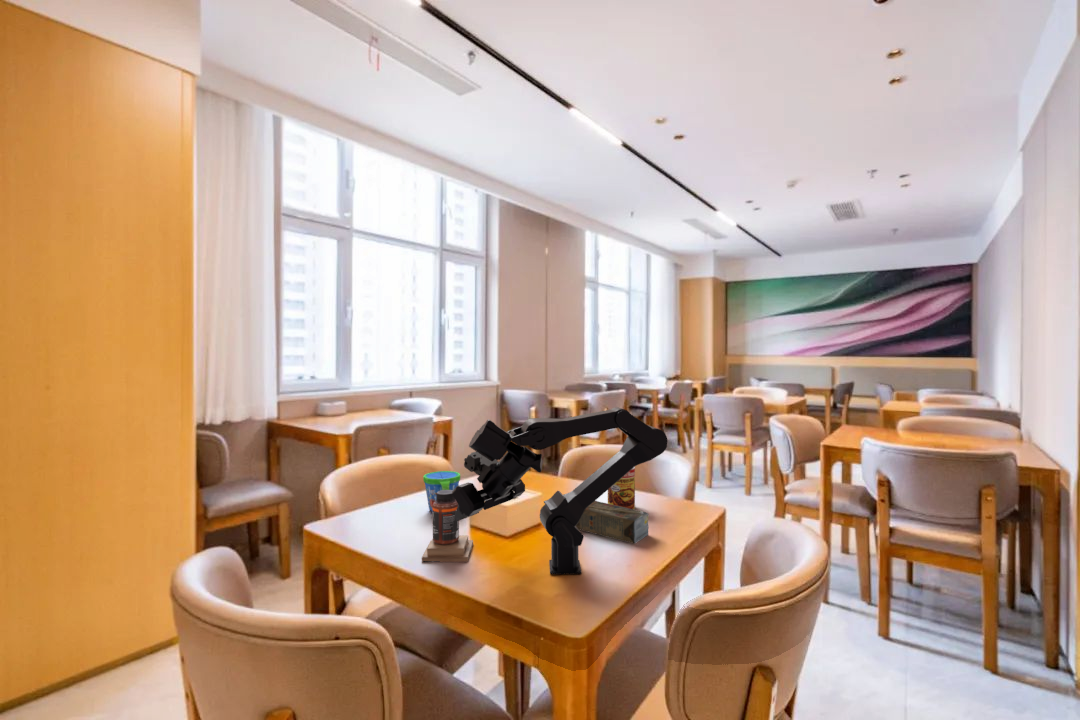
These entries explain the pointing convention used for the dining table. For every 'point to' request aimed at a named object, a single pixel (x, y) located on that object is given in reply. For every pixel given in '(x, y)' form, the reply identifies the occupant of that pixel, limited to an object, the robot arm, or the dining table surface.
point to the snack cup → (439, 484)
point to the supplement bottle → (445, 518)
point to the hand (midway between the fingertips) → (470, 513)
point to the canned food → (623, 491)
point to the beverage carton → (614, 522)
